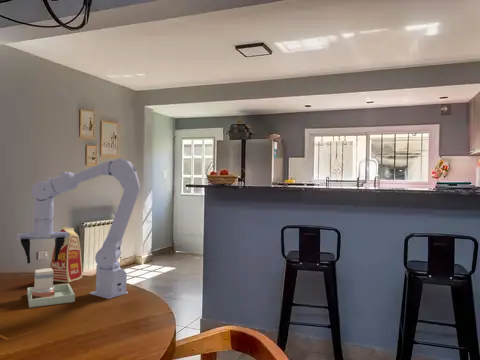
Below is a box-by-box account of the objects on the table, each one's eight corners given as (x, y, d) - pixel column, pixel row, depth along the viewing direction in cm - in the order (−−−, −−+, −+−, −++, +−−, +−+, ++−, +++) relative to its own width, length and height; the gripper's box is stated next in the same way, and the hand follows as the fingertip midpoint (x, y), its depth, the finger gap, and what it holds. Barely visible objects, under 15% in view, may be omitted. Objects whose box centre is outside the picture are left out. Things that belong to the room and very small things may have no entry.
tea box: (53, 287, 115) (53, 271, 115) (35, 289, 112) (36, 272, 112) (51, 284, 119) (51, 267, 119) (34, 286, 116) (34, 269, 116)
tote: (74, 303, 115) (74, 294, 115) (28, 308, 108) (29, 300, 108) (68, 291, 127) (68, 283, 127) (27, 295, 120) (27, 287, 121)
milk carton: (69, 283, 136) (70, 227, 136) (46, 281, 138) (47, 225, 138) (84, 277, 145) (85, 224, 145) (62, 275, 147) (64, 223, 147)
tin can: (58, 299, 116) (59, 286, 116) (39, 304, 111) (39, 290, 111) (47, 296, 119) (47, 283, 119) (27, 300, 114) (27, 287, 114)
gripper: (66, 217, 129) (65, 257, 129) (17, 218, 122) (15, 261, 122) (69, 219, 123) (68, 261, 123) (17, 220, 116) (16, 265, 116)
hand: (42, 261), depth 122 cm, fingers open, 7 cm apart
